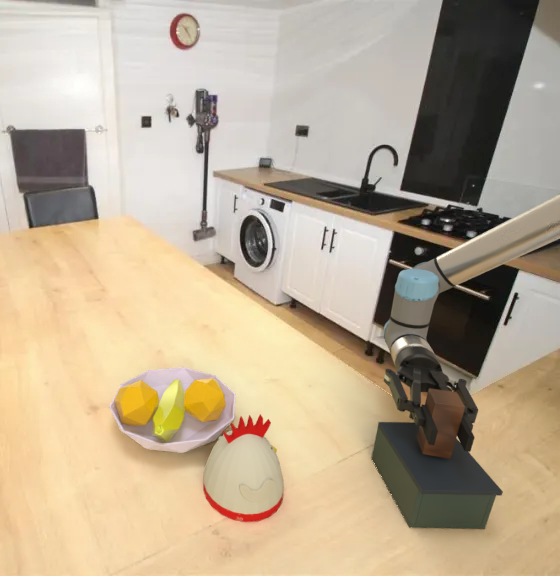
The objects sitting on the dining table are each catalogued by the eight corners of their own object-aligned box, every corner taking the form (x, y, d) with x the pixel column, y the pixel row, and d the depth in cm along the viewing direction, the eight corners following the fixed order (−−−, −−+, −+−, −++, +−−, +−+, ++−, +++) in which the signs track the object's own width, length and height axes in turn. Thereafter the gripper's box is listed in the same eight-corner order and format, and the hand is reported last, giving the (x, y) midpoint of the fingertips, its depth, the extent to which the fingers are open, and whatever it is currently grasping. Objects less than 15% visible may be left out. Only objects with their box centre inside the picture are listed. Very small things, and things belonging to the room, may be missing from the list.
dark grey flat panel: (501, 495, 60) (503, 491, 60) (421, 494, 61) (422, 490, 61) (442, 426, 75) (443, 422, 74) (377, 425, 75) (378, 421, 75)
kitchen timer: (297, 513, 67) (306, 439, 62) (216, 529, 64) (218, 454, 59) (263, 453, 80) (268, 387, 75) (195, 464, 77) (195, 397, 72)
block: (443, 442, 69) (456, 392, 65) (450, 459, 65) (465, 407, 62) (416, 437, 70) (428, 388, 66) (422, 454, 66) (435, 402, 63)
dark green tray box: (485, 529, 64) (498, 491, 61) (409, 527, 64) (418, 489, 62) (433, 459, 77) (442, 426, 75) (371, 459, 78) (377, 425, 75)
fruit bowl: (150, 378, 105) (149, 338, 101) (252, 407, 93) (255, 363, 89) (79, 447, 82) (73, 399, 78) (202, 497, 70) (203, 444, 66)
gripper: (459, 384, 81) (512, 473, 60) (366, 371, 85) (383, 449, 64) (469, 351, 78) (527, 431, 57) (371, 339, 83) (392, 409, 62)
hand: (451, 440), depth 61 cm, fingers closed on block, 4 cm apart
